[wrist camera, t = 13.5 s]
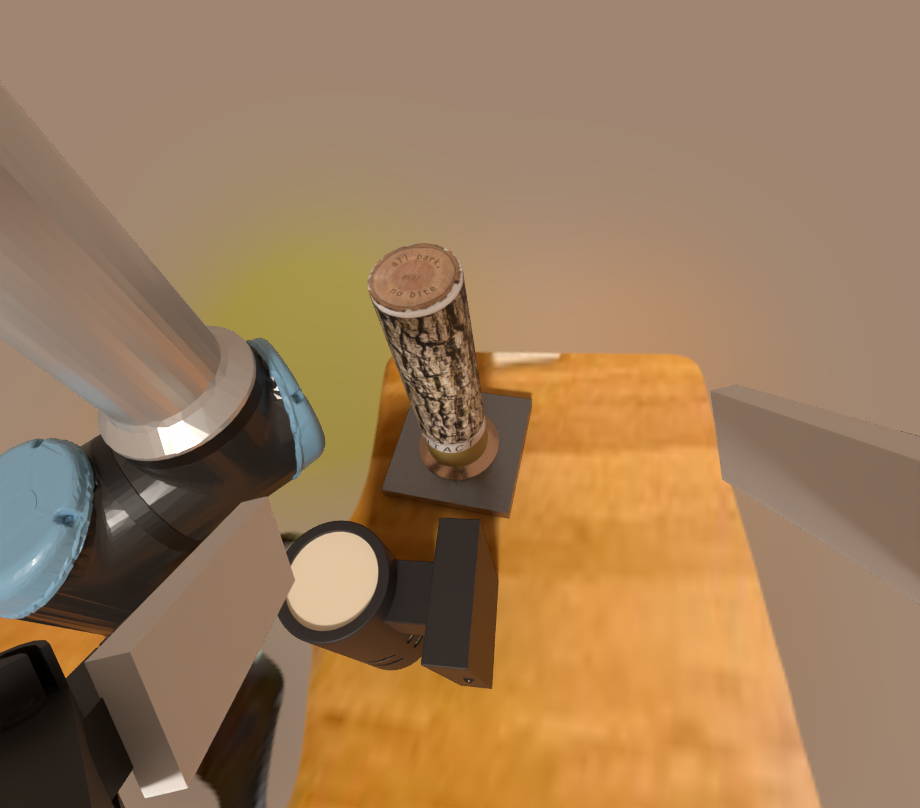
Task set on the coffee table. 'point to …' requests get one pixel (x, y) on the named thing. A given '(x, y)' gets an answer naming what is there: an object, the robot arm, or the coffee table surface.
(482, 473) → the plate
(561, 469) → the coffee table surface
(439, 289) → the paper tube
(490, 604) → the light fixture
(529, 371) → the coffee table surface
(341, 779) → the coffee table surface
